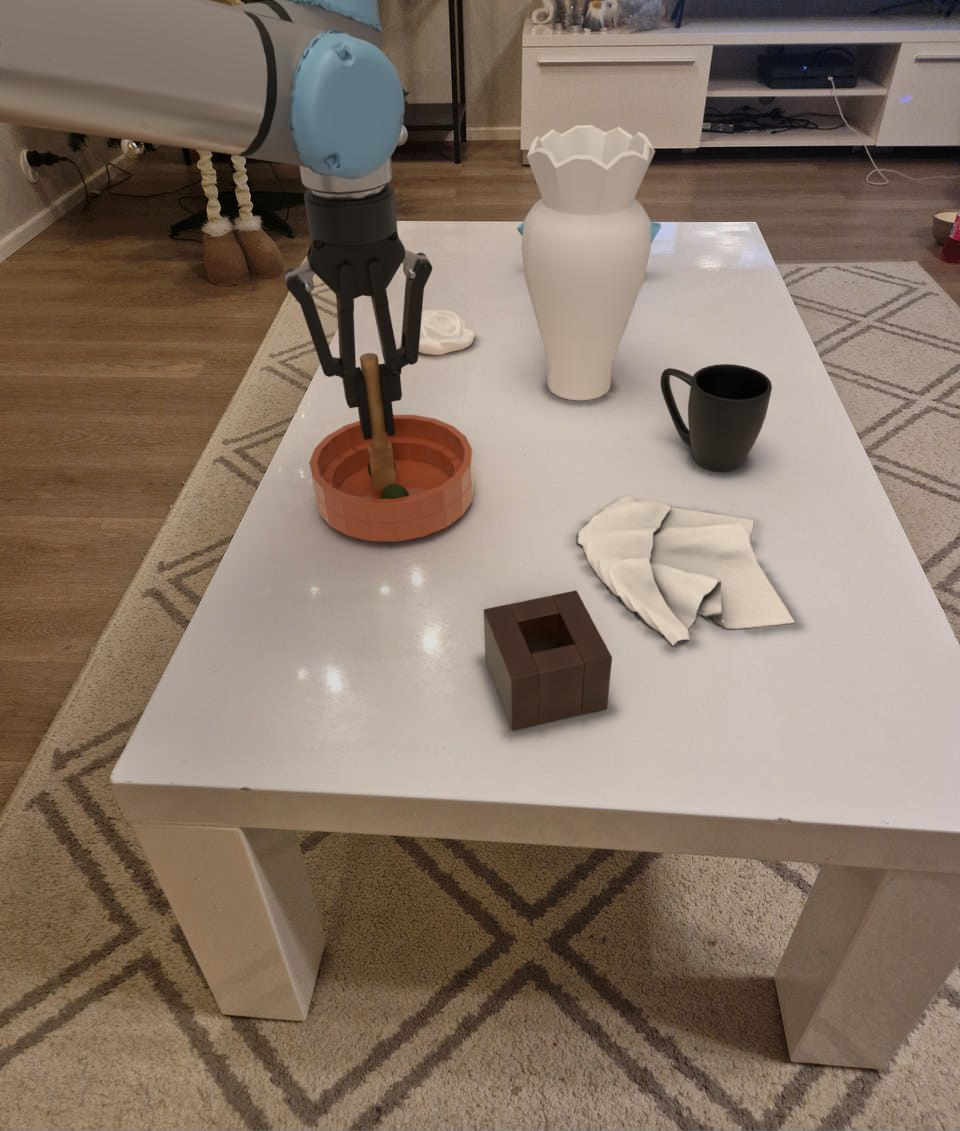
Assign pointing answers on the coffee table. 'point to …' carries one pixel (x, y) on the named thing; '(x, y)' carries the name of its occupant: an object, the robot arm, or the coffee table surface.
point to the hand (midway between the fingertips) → (377, 430)
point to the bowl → (423, 467)
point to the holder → (546, 659)
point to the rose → (443, 332)
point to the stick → (377, 426)
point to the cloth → (680, 567)
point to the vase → (585, 251)
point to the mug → (720, 413)
